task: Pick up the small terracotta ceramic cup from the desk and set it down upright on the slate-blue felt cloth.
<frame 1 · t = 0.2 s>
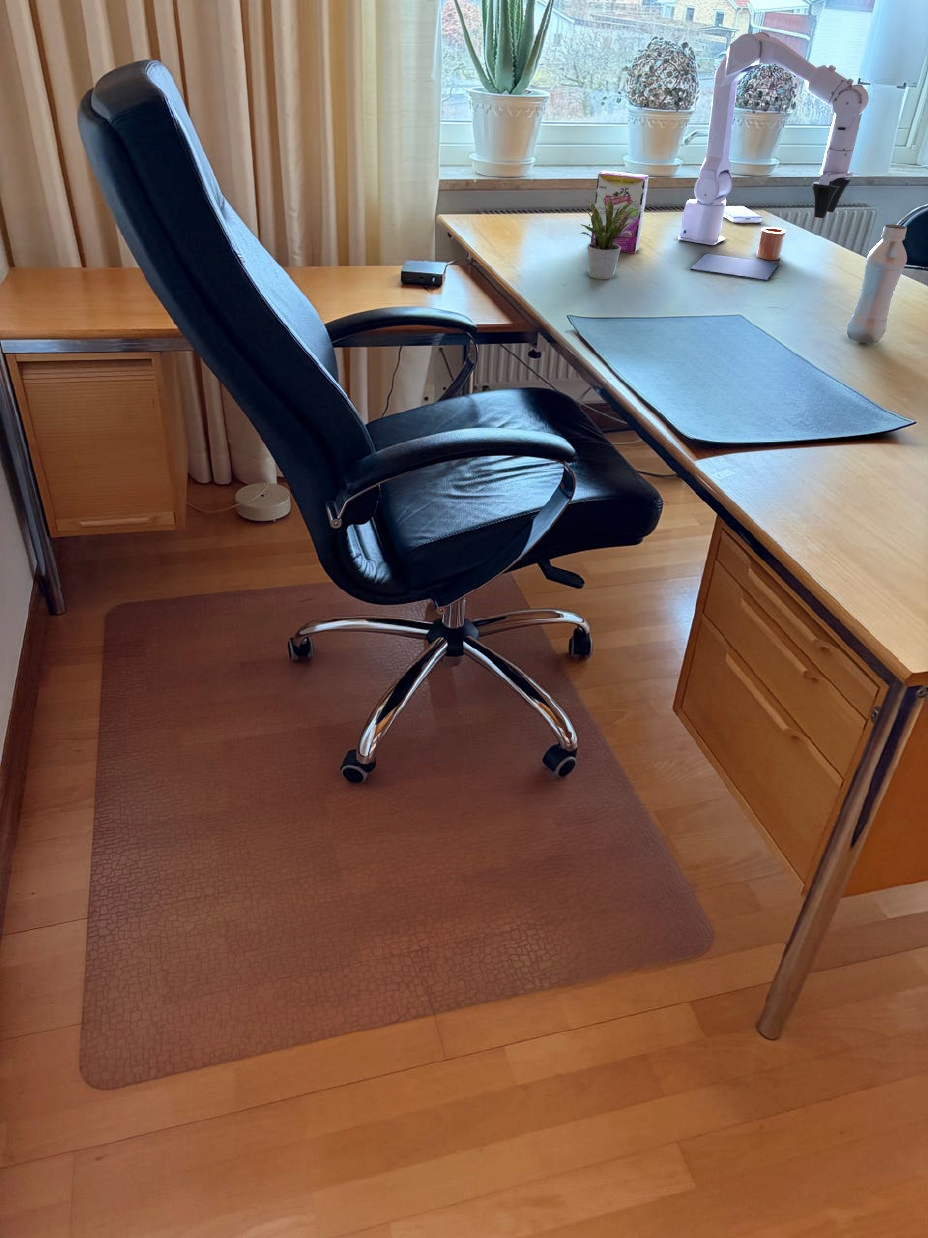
hand: (824, 214, 210), 10 cm above the table, tool pointing down, fingers open, 7 cm apart
plastic bottle: (862, 342, 169), on the table
hard drive: (737, 217, 250), on the table
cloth: (735, 267, 208), on the table
house plant: (607, 276, 200), on the table
cup: (768, 256, 217), on the table
candy bar box: (614, 249, 219), on the table
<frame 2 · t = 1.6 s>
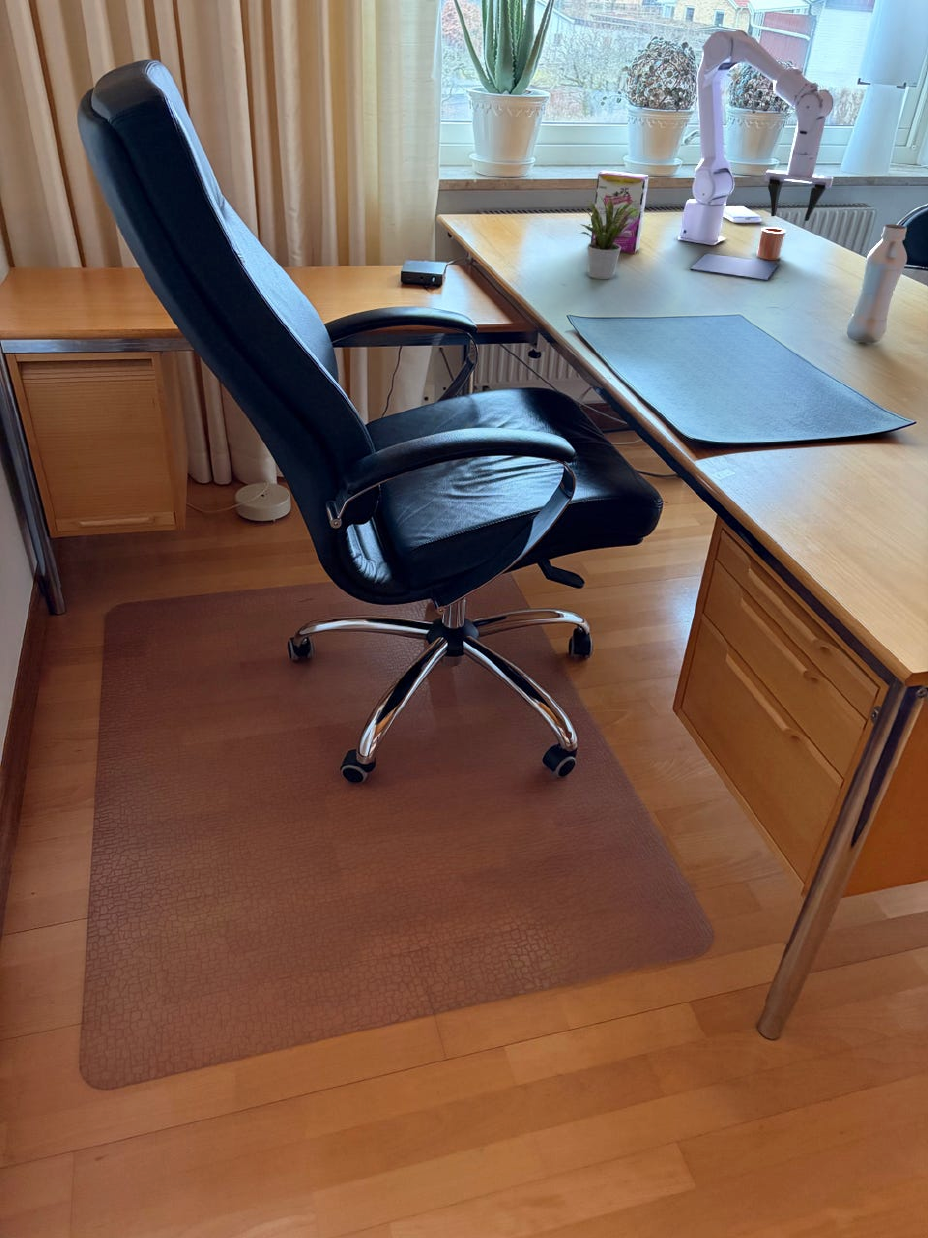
hand: (790, 217, 211), 9 cm above the table, tool pointing down, fingers open, 7 cm apart
nothing on the table moved.
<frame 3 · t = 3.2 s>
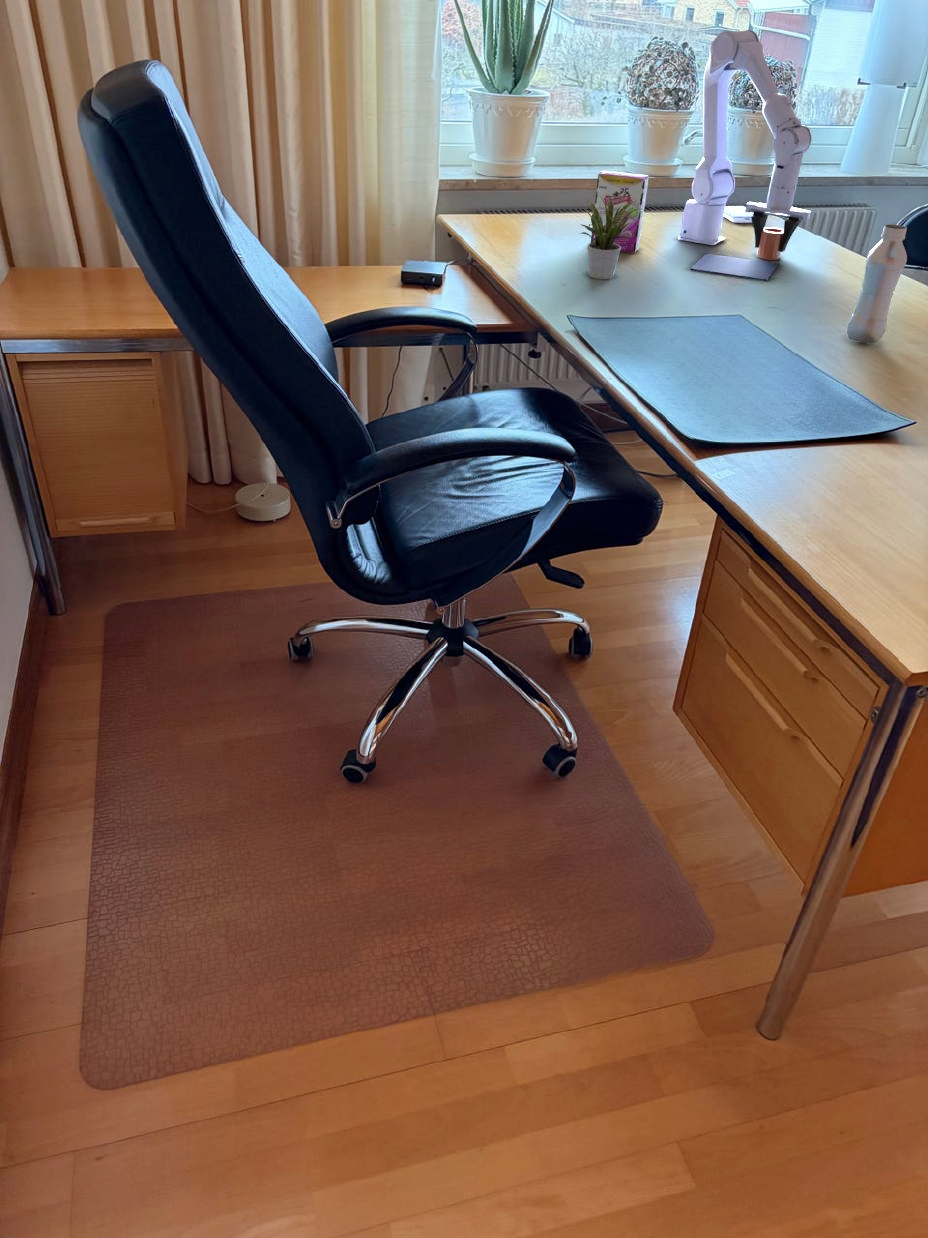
hand: (769, 248, 216), 2 cm above the table, tool pointing down, fingers closed on cup, 5 cm apart
cup: (768, 256, 217), on the table, touching gripper
everything else where it was.
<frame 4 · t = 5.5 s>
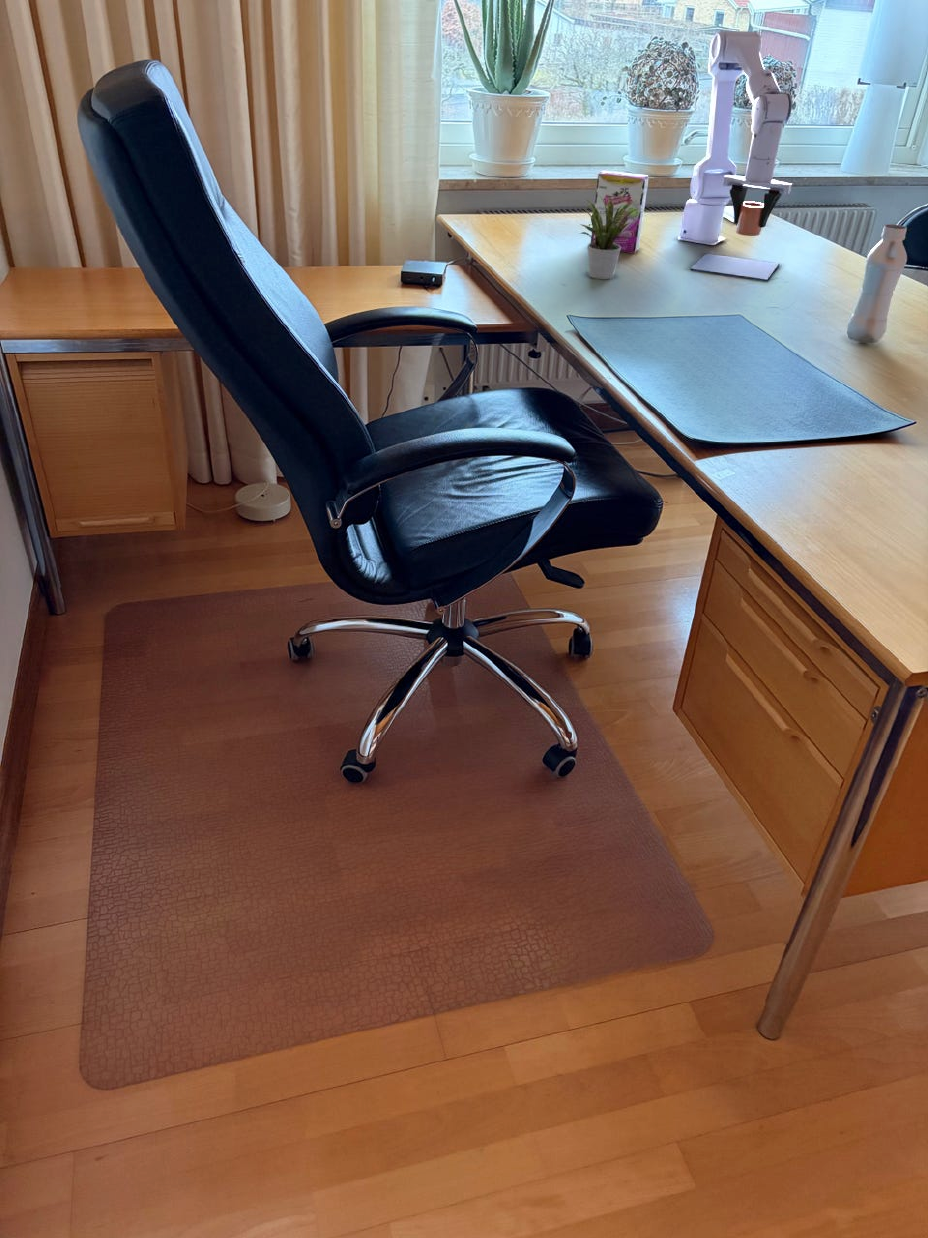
hand: (749, 224, 205), 9 cm above the table, tool pointing down, fingers closed on cup, 5 cm apart
cup: (747, 233, 206), point 7 cm above the table, touching gripper
everything else where it was.
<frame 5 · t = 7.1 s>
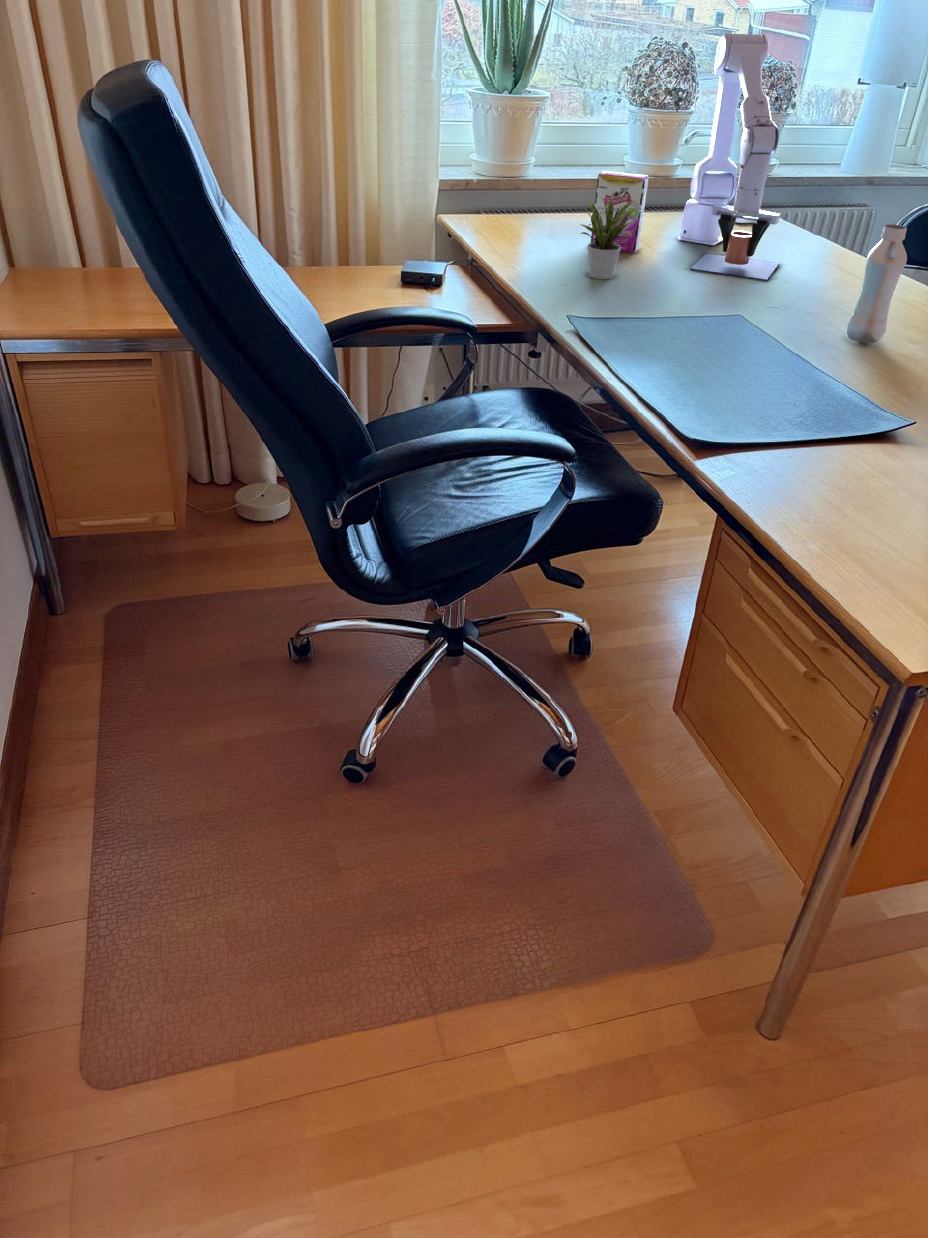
hand: (737, 253, 207), 3 cm above the table, tool pointing down, fingers closed on cup, 5 cm apart
cup: (736, 261, 208), point 1 cm above the table, touching gripper
everything else where it was.
when the fingers open (2 cm above the table, at t = 7.9 s): cup stays where it is, resting on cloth.
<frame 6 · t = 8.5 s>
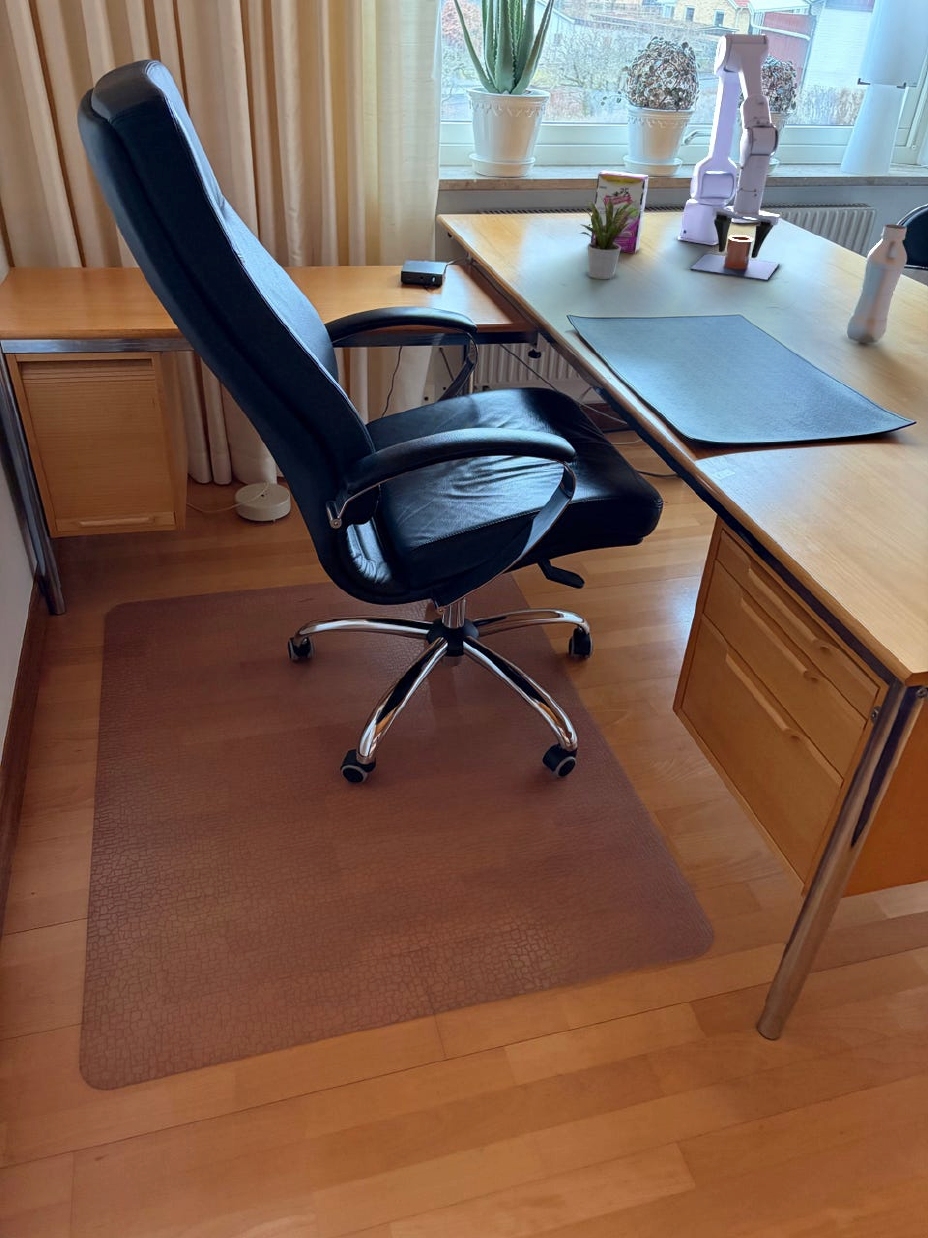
hand: (737, 254, 207), 3 cm above the table, tool pointing down, fingers open, 7 cm apart
cup: (735, 265, 208), resting on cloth
everything else where it was.
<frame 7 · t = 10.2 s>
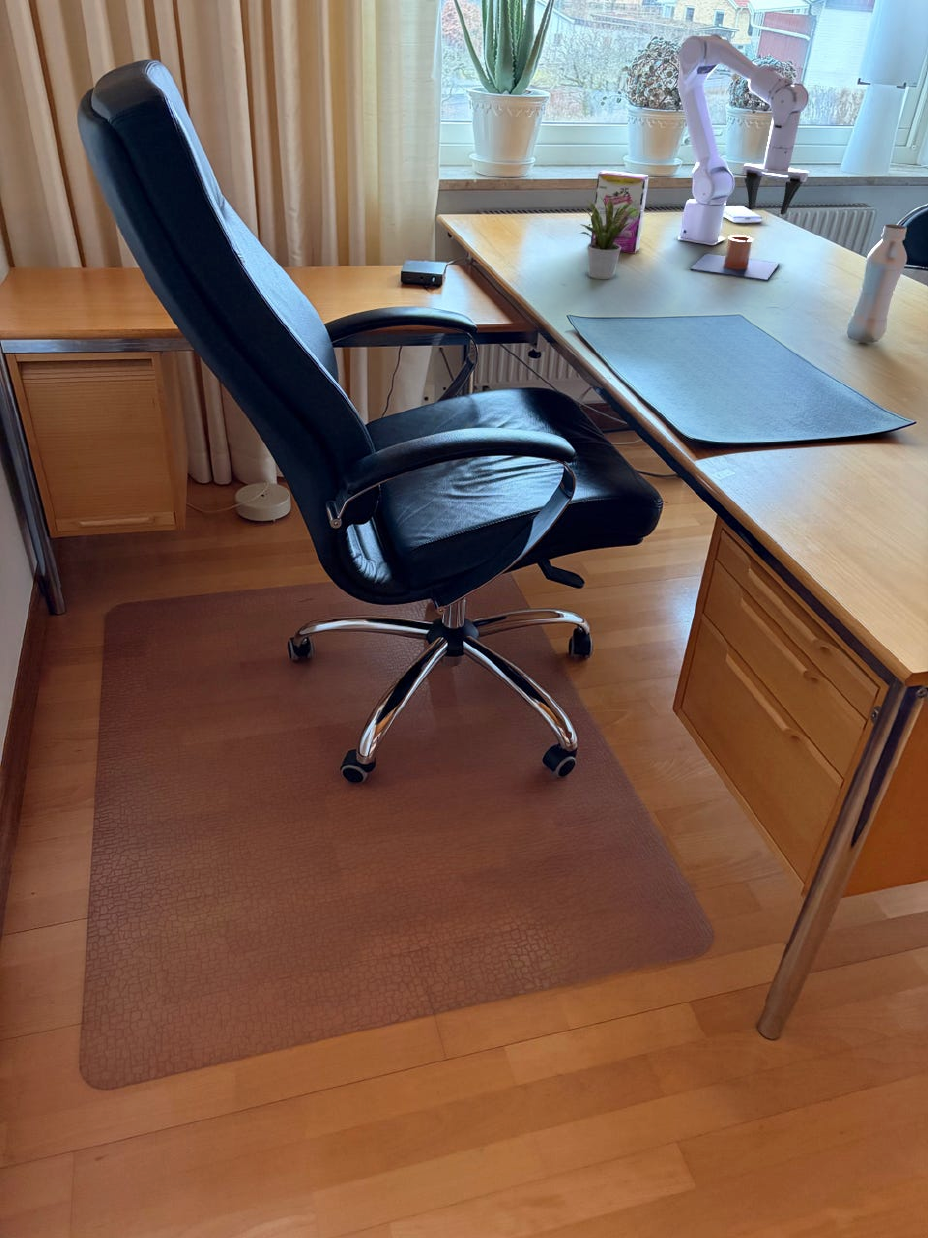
hand: (767, 211, 214), 9 cm above the table, tool pointing down, fingers open, 7 cm apart
nothing on the table moved.
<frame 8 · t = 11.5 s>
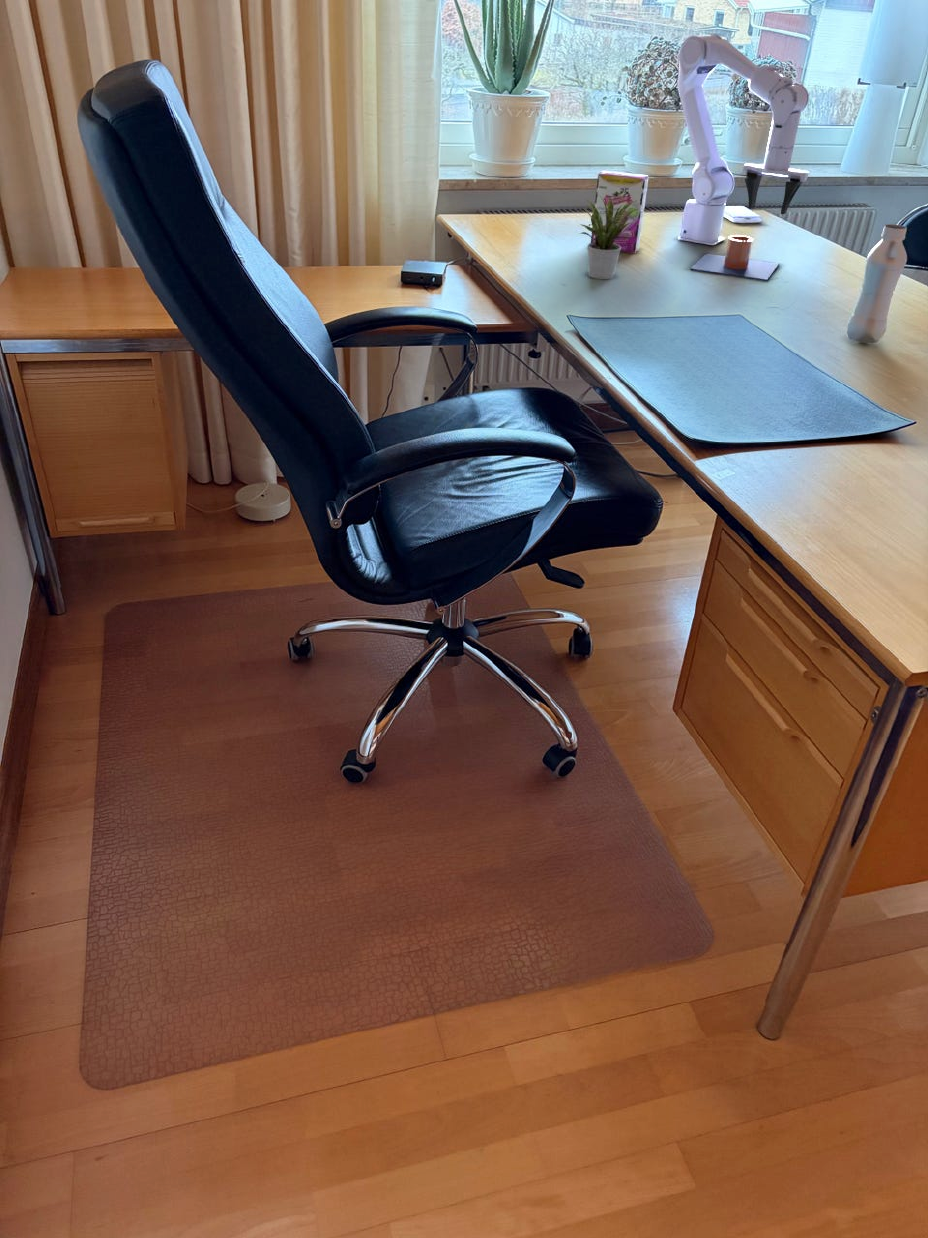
hand: (767, 210, 214), 9 cm above the table, tool pointing down, fingers open, 7 cm apart
nothing on the table moved.
at the end: cup inside the target area on the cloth (0.1 cm from its centre), point 0.3 cm above the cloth's base; cup tilted 0°; cup touching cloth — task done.
